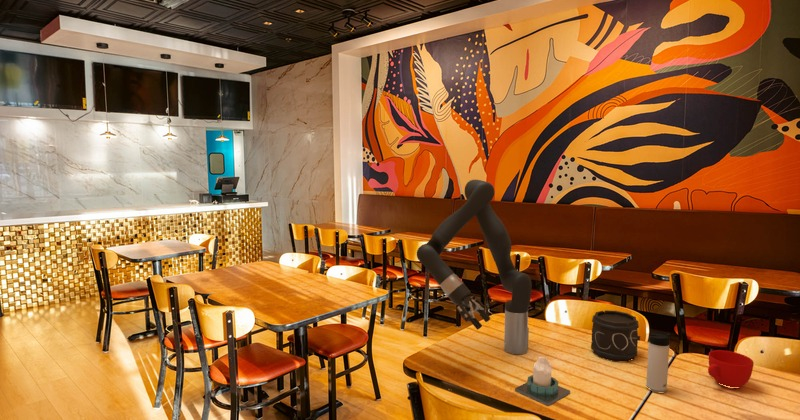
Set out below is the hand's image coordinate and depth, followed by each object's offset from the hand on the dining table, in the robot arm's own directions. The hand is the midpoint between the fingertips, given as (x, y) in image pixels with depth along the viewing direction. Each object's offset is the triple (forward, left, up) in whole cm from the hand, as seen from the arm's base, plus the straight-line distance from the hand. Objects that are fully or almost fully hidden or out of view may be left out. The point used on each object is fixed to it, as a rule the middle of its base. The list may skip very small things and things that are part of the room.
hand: (484, 324), depth 173 cm
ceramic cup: (-60, +58, -20) cm, 86 cm away
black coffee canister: (-57, +20, -20) cm, 64 cm away
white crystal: (-7, +20, -19) cm, 29 cm away
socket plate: (-7, +20, -20) cm, 29 cm away
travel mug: (-39, +44, -20) cm, 62 cm away
